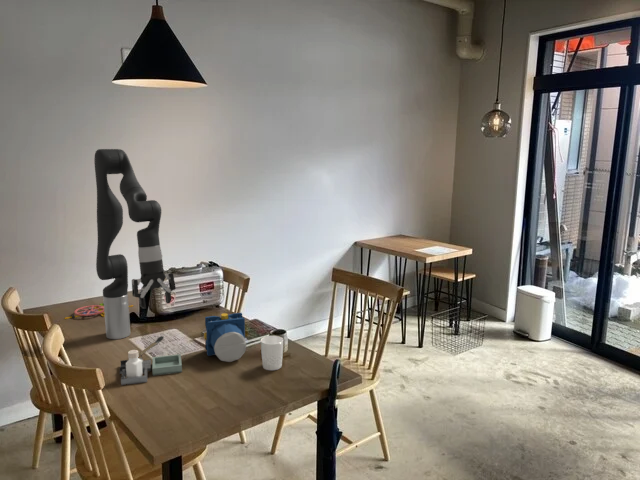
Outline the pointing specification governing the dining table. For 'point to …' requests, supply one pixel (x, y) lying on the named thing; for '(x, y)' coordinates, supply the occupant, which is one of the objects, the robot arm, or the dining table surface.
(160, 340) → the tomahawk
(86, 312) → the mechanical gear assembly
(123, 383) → the grey caddy
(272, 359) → the white cup
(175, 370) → the tray
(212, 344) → the blue boxy device
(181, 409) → the dining table surface
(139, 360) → the pepper shaker
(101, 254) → the robot arm
